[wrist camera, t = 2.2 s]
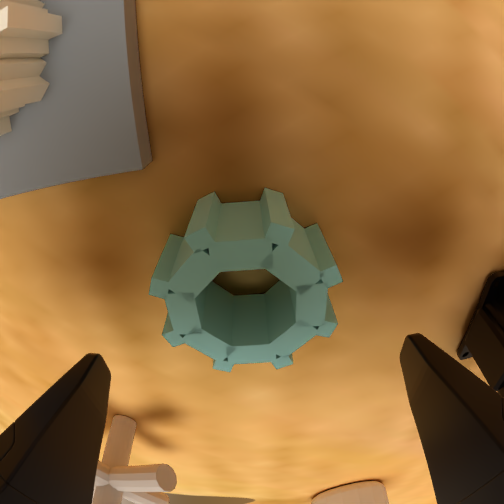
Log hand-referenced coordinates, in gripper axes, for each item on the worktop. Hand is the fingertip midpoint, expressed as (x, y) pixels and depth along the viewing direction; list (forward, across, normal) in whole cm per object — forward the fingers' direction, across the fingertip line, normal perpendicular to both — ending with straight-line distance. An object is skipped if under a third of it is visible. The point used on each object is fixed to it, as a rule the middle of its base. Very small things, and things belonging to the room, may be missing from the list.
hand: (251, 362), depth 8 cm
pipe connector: (+5, +10, +13) cm, 17 cm away
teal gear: (+5, 0, 0) cm, 5 cm away
